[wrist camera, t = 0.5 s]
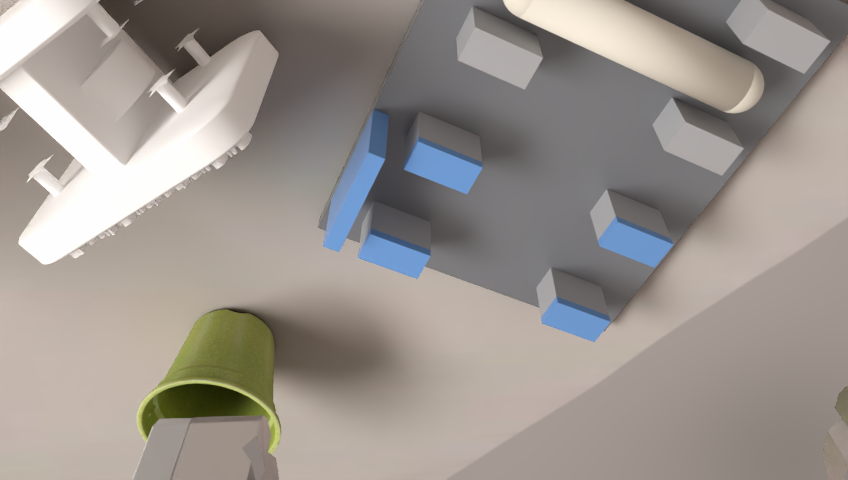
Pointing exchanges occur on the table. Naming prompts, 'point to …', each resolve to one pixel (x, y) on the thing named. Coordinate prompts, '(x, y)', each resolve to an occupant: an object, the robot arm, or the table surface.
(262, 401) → the plant pot
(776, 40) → the grey peg board
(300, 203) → the table surface
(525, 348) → the table surface
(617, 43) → the white capsule
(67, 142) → the cable organizer
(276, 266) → the table surface
